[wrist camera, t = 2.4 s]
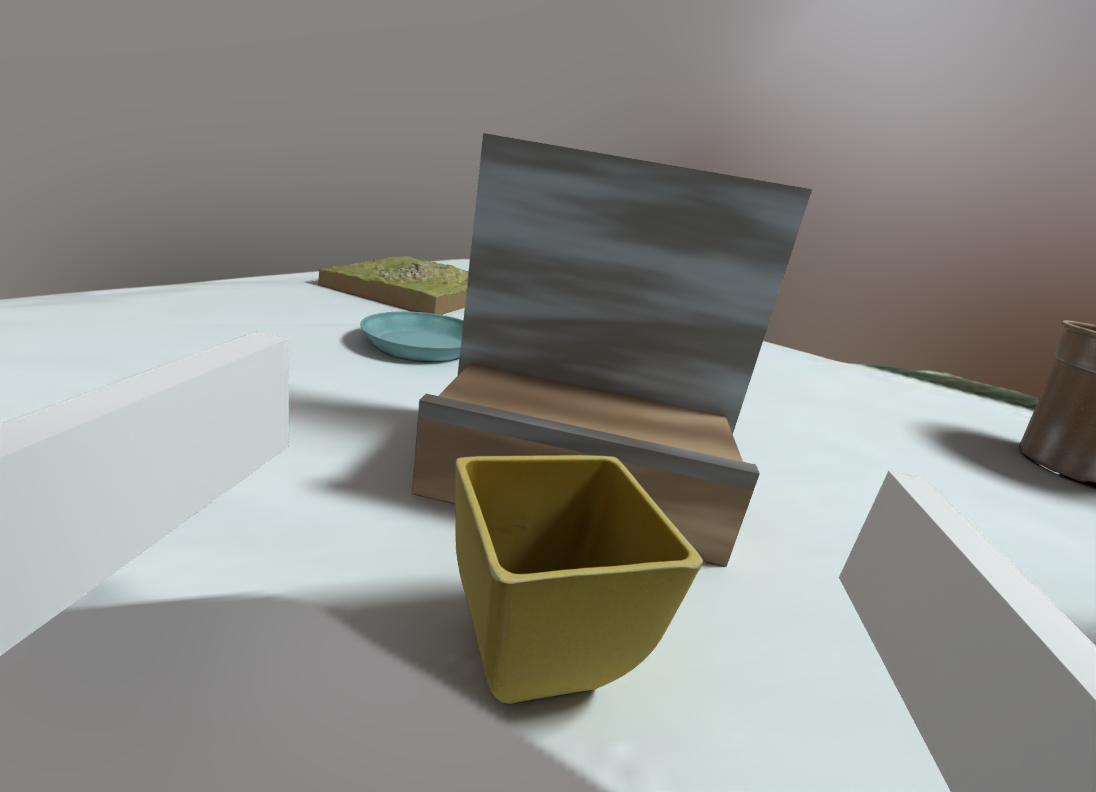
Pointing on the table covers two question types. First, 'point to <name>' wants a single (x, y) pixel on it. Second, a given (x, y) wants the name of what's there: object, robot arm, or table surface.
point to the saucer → (415, 335)
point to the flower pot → (564, 571)
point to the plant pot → (1067, 408)
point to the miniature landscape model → (402, 283)
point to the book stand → (614, 325)
